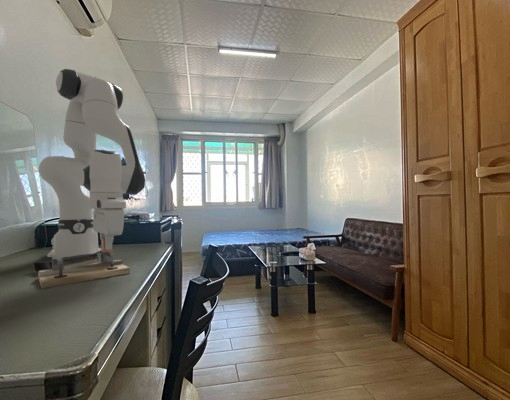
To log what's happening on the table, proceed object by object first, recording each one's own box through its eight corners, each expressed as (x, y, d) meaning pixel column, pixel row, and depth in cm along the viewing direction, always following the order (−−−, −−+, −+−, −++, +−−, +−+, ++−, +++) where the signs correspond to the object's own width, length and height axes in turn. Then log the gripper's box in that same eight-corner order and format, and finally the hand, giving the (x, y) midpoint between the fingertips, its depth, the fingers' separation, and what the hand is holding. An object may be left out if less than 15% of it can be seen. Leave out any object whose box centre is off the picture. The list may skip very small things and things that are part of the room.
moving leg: (101, 263, 81) (100, 238, 81) (109, 262, 83) (109, 237, 83) (107, 267, 75) (107, 240, 76) (117, 266, 77) (116, 239, 77)
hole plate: (38, 278, 73) (38, 258, 73) (117, 266, 86) (117, 249, 86) (41, 288, 64) (41, 265, 64) (129, 273, 77) (129, 253, 77)
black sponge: (47, 275, 77) (47, 263, 77) (31, 273, 80) (31, 260, 80) (101, 264, 91) (101, 253, 92) (85, 262, 95) (85, 251, 95)
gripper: (87, 203, 87) (87, 245, 87) (103, 202, 72) (103, 254, 71) (109, 203, 91) (109, 243, 91) (128, 202, 76) (128, 251, 76)
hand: (106, 248), depth 81 cm, fingers closed on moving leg, 2 cm apart
